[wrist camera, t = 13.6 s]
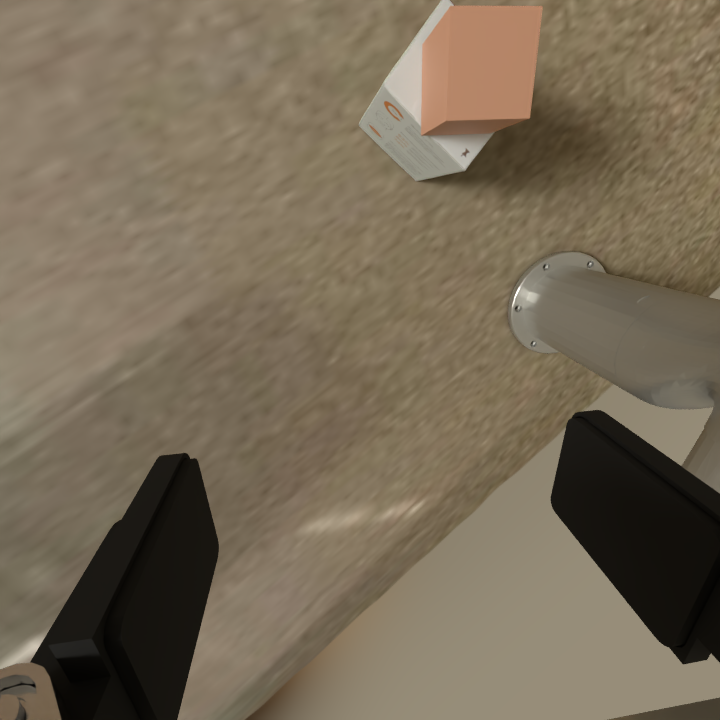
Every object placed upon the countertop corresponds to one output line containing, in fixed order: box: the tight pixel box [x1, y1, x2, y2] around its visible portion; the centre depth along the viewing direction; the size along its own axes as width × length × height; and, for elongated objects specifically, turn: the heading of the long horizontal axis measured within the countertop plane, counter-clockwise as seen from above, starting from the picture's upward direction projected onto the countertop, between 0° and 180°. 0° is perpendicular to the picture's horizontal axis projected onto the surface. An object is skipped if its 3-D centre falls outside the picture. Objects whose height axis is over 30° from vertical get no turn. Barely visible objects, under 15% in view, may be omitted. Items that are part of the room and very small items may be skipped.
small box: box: [359, 0, 494, 181], centre depth 31 cm, size 8×6×13 cm
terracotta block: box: [421, 6, 543, 136], centre depth 22 cm, size 5×5×5 cm
